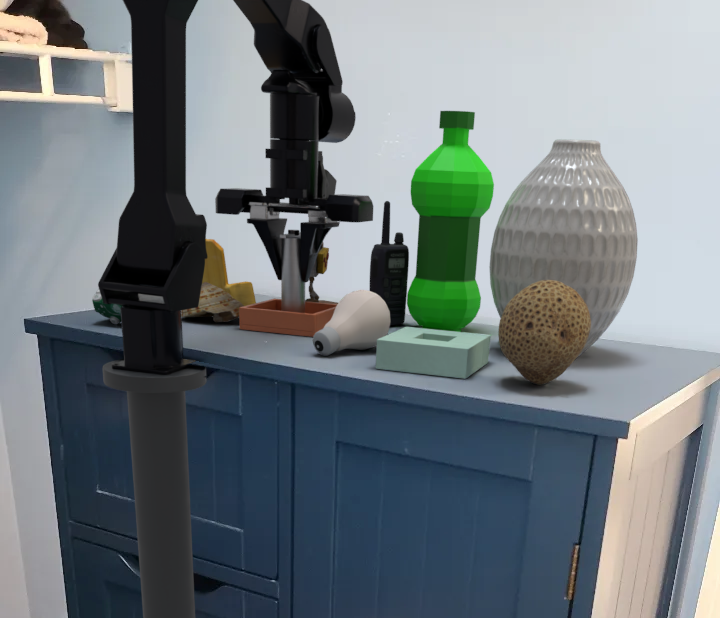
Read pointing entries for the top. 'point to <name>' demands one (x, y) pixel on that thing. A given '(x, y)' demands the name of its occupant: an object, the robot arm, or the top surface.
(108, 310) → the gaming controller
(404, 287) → the two-way radio
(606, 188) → the vase
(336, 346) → the light bulb
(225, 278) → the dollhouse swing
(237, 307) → the seashell
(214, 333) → the top surface
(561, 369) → the natural sponge
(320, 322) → the dish
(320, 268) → the robot figurine
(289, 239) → the silver cylinder with crossbar
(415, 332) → the green square holed block
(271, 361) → the top surface
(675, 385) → the top surface
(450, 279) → the plastic bottle
